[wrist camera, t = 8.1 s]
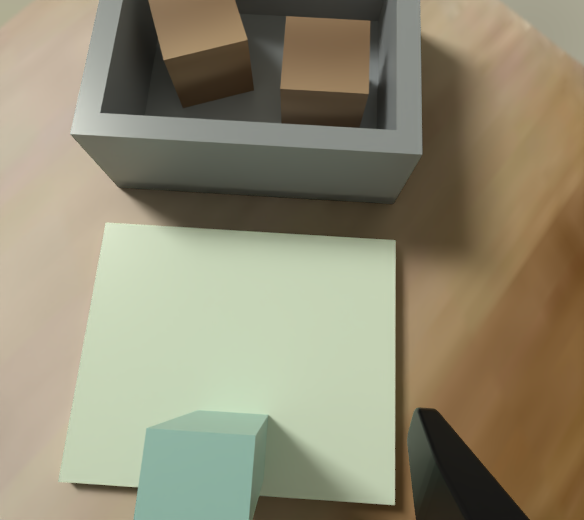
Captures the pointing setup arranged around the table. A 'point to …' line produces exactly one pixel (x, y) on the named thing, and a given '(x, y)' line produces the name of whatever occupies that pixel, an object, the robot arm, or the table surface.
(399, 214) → the table surface
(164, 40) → the block
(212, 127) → the tub
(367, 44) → the block
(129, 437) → the lid
